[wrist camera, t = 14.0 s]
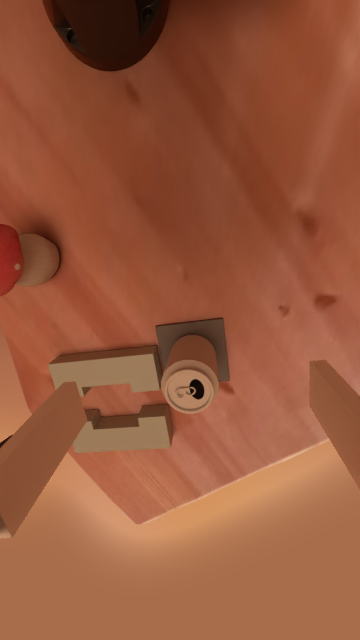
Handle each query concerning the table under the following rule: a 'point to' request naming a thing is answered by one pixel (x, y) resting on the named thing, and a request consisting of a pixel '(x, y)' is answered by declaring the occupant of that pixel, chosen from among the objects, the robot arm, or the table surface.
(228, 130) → the table surface
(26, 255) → the decorative ornament
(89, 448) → the pocket block
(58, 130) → the table surface
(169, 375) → the can
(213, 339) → the coaster
